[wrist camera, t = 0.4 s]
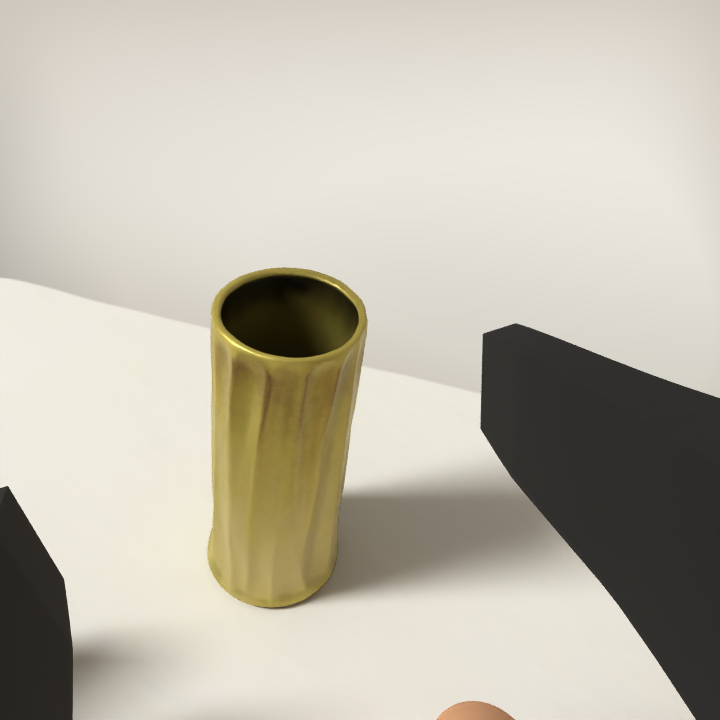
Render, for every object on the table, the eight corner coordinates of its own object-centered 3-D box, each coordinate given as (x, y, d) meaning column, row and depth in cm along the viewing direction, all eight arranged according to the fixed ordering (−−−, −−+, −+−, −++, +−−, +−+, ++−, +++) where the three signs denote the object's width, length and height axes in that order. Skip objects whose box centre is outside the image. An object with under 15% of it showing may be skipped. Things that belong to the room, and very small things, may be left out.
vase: (335, 498, 33) (375, 266, 24) (338, 611, 29) (389, 378, 19) (215, 494, 33) (208, 252, 23) (199, 609, 28) (182, 365, 19)
